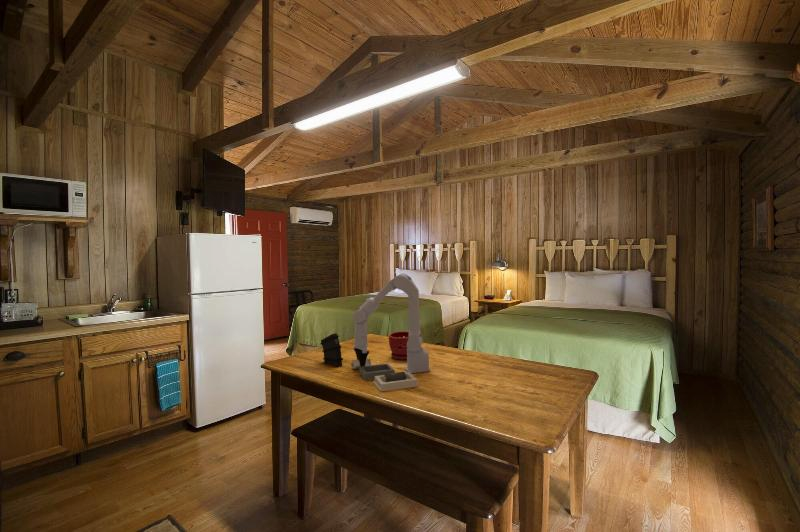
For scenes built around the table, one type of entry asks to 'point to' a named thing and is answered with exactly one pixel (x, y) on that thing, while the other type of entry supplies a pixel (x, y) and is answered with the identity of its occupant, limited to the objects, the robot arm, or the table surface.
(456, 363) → the table surface
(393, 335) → the plant pot
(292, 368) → the table surface
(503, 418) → the table surface
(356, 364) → the silver cell
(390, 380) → the cylinder
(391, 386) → the trough board
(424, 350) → the robot arm
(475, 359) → the table surface
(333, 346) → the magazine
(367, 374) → the bin
